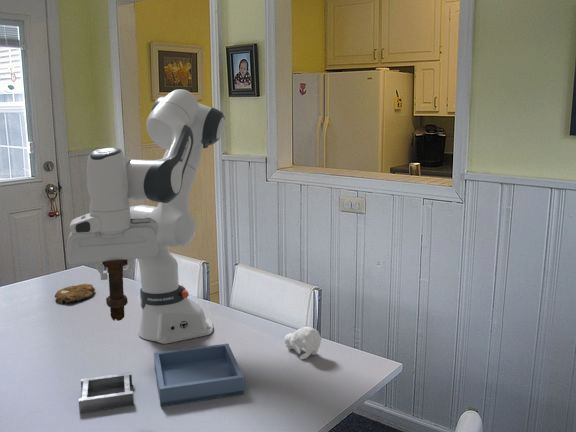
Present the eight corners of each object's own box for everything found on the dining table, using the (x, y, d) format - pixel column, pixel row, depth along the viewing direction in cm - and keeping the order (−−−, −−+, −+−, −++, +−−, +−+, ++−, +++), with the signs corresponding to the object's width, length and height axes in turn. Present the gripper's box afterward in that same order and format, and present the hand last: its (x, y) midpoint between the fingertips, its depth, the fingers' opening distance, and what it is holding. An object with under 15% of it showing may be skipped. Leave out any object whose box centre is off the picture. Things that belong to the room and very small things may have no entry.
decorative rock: (80, 290, 216) (49, 304, 203) (78, 279, 215) (47, 293, 202) (103, 292, 211) (73, 307, 198) (102, 282, 210) (71, 296, 197)
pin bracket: (132, 383, 145) (131, 372, 144) (133, 405, 135) (132, 393, 134) (81, 390, 141) (81, 379, 141) (79, 413, 131) (78, 401, 131)
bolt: (132, 314, 138) (130, 255, 135) (127, 323, 133) (124, 261, 130) (108, 314, 138) (105, 254, 135) (102, 322, 133) (98, 261, 130)
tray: (228, 358, 158) (228, 343, 157) (244, 394, 140) (243, 377, 139) (154, 368, 153) (153, 352, 152) (160, 406, 134) (159, 389, 133)
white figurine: (306, 332, 154) (277, 324, 163) (308, 363, 155) (279, 352, 164) (322, 326, 158) (293, 318, 167) (324, 356, 159) (295, 346, 168)
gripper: (156, 214, 136) (160, 269, 139) (65, 220, 131) (70, 278, 134) (158, 220, 130) (161, 277, 133) (62, 226, 125) (68, 286, 128)
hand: (115, 278), depth 133 cm, fingers closed on bolt, 4 cm apart
